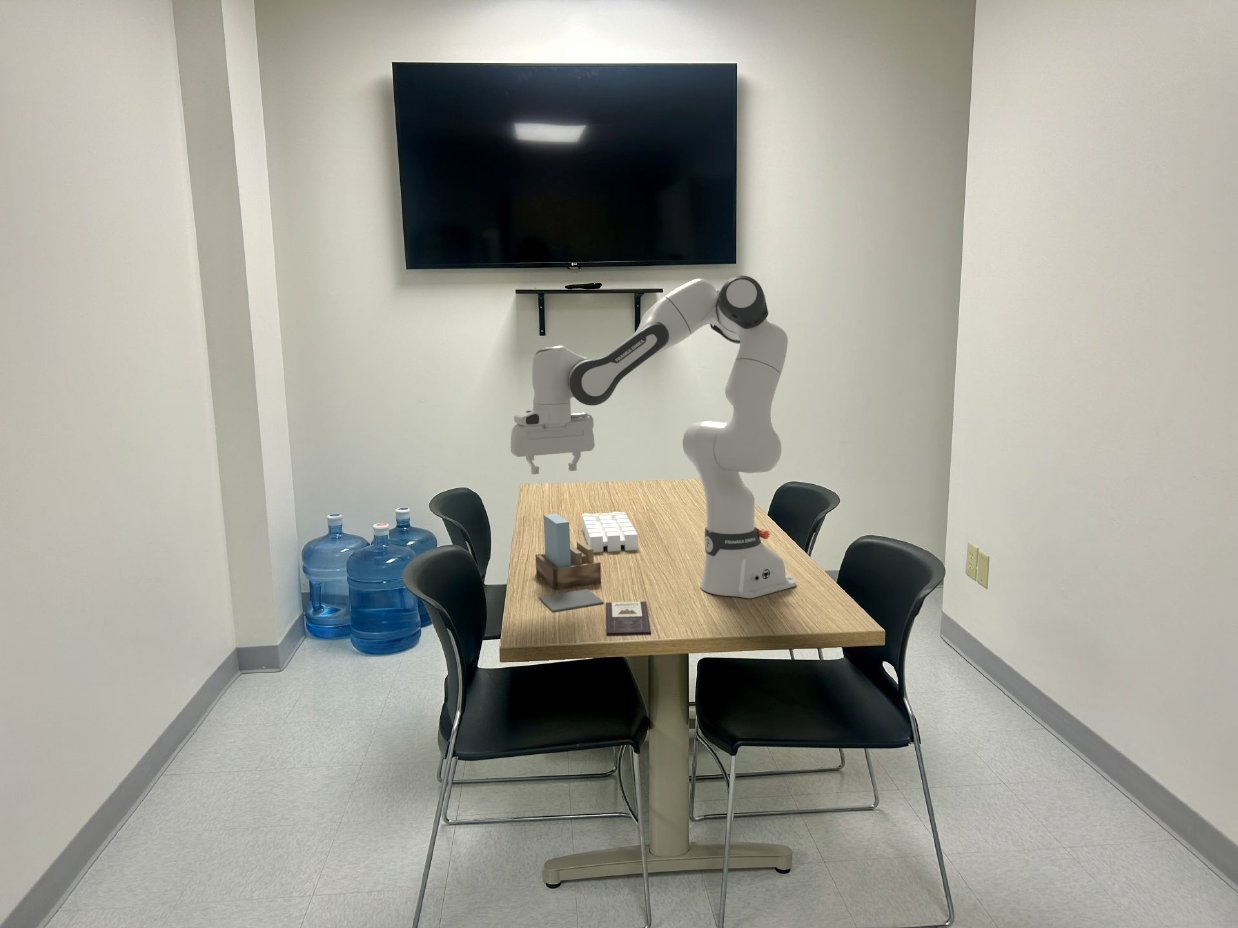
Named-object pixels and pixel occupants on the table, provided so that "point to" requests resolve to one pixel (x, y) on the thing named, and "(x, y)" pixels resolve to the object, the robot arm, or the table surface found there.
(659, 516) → the table surface
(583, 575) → the rack
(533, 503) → the table surface
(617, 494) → the table surface
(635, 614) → the chocolate bar
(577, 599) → the mat
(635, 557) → the table surface
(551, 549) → the light blue block
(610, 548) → the organizer
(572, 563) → the offcuts
